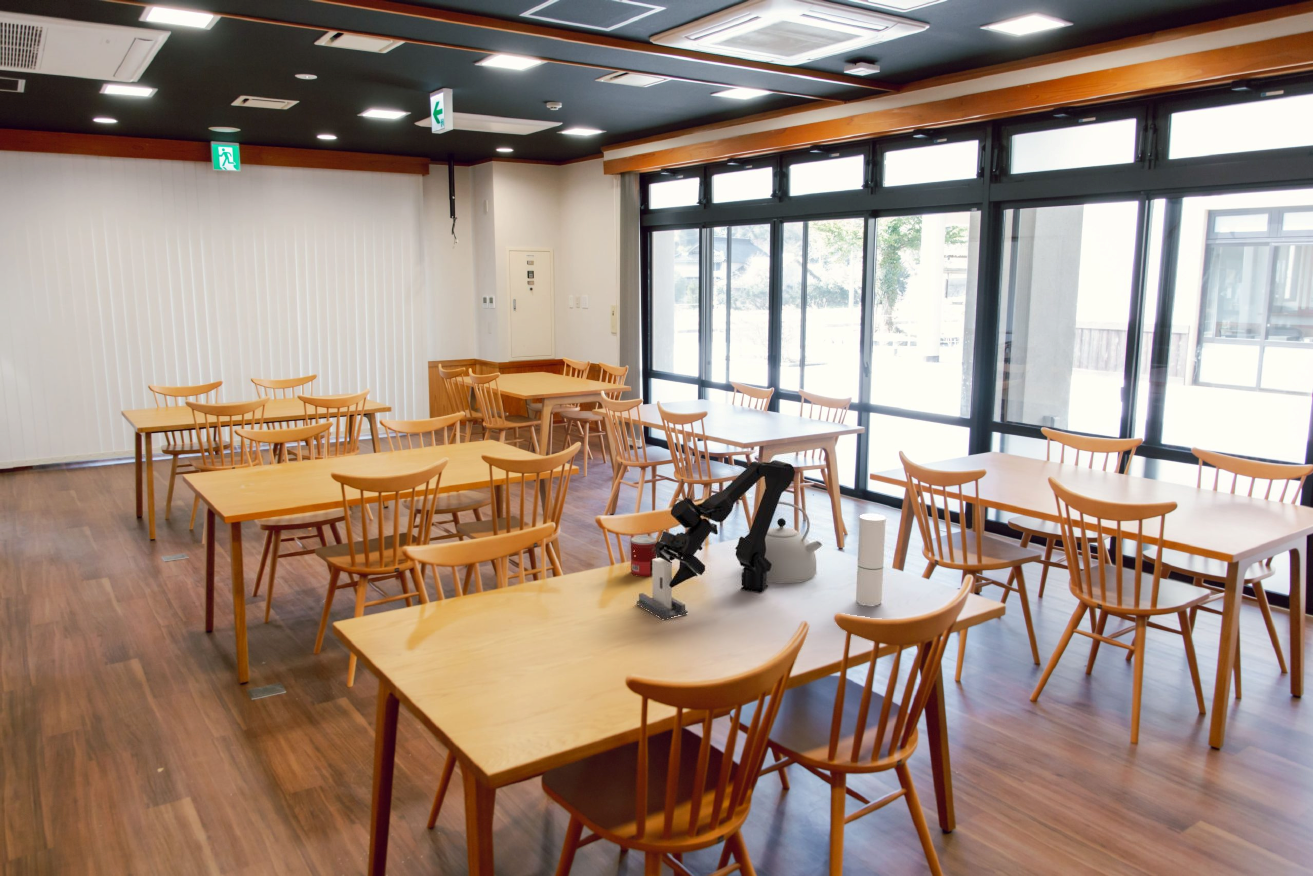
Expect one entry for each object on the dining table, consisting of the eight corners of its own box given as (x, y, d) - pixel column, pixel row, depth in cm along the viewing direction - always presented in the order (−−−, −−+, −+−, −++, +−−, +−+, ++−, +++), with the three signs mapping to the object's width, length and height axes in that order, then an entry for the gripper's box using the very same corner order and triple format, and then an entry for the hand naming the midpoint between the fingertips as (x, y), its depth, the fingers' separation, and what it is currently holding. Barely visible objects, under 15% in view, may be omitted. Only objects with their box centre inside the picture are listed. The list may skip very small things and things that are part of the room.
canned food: (656, 577, 277) (656, 542, 275) (630, 577, 277) (630, 542, 275) (656, 569, 284) (656, 535, 282) (631, 568, 284) (631, 535, 282)
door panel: (659, 601, 253) (660, 557, 251) (671, 608, 248) (671, 563, 246) (651, 603, 252) (651, 559, 249) (662, 610, 247) (662, 565, 244)
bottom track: (660, 599, 258) (660, 589, 257) (687, 614, 246) (687, 604, 246) (636, 604, 254) (636, 594, 253) (663, 620, 242) (663, 609, 242)
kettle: (834, 568, 286) (836, 499, 282) (807, 589, 267) (809, 516, 262) (762, 555, 298) (764, 489, 294) (731, 574, 279) (733, 504, 275)
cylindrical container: (879, 597, 259) (883, 514, 255) (883, 606, 252) (887, 520, 248) (854, 596, 260) (858, 513, 256) (857, 605, 253) (861, 520, 249)
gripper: (659, 513, 256) (626, 556, 252) (696, 528, 240) (661, 575, 237) (682, 535, 262) (650, 578, 258) (720, 552, 246) (686, 598, 242)
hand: (661, 581), depth 249 cm, fingers open, 9 cm apart
